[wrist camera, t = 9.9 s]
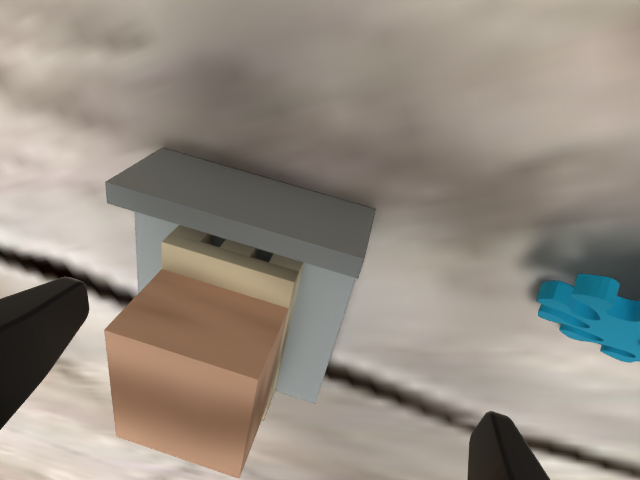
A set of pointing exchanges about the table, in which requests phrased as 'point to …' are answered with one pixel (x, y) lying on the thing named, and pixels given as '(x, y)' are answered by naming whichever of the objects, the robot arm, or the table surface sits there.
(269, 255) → the dock
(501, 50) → the table surface
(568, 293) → the gear
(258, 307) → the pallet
